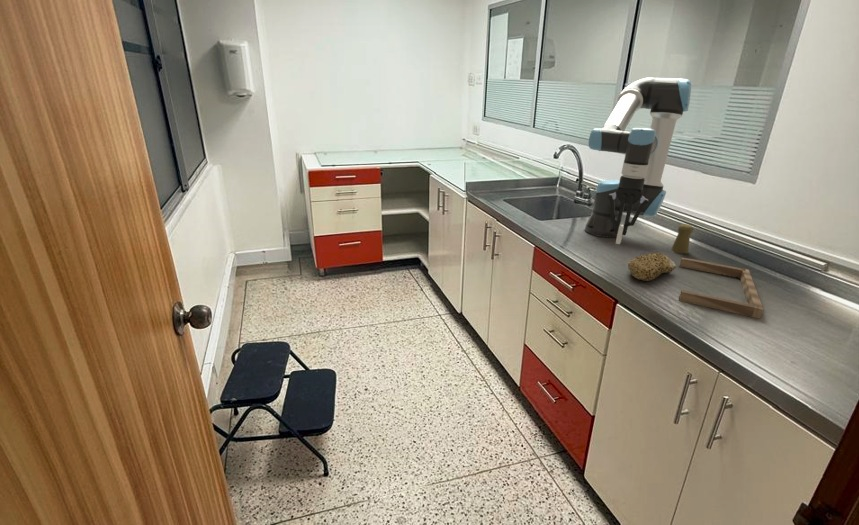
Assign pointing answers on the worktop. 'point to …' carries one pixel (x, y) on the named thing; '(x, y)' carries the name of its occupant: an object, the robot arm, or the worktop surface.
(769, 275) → the worktop surface
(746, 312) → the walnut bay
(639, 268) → the sponge
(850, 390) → the worktop surface
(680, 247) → the olive waisted cylinder
